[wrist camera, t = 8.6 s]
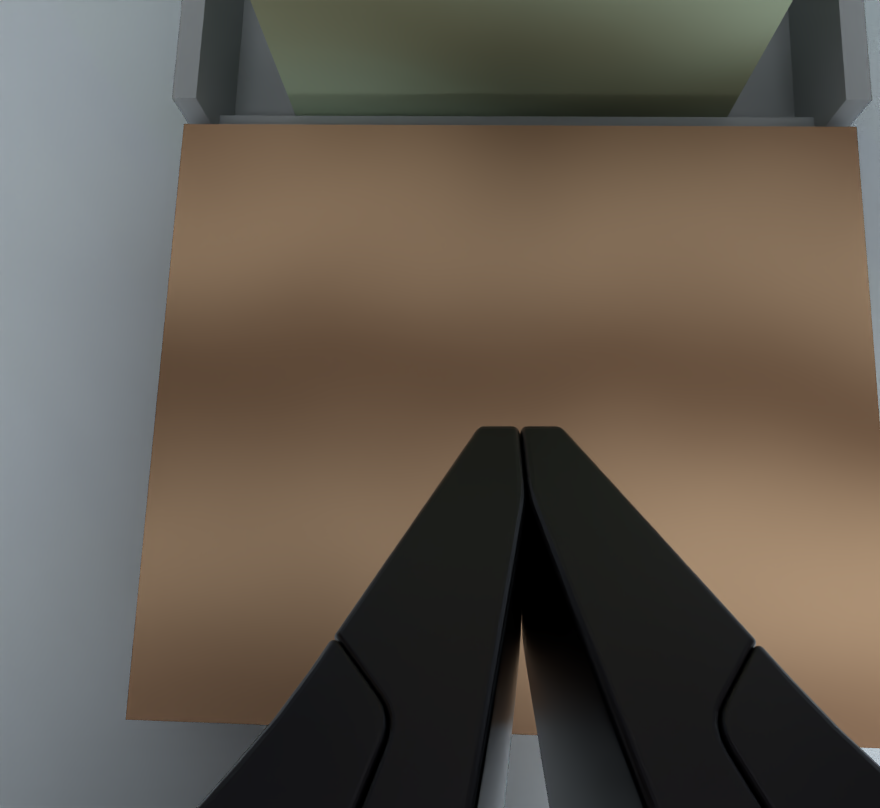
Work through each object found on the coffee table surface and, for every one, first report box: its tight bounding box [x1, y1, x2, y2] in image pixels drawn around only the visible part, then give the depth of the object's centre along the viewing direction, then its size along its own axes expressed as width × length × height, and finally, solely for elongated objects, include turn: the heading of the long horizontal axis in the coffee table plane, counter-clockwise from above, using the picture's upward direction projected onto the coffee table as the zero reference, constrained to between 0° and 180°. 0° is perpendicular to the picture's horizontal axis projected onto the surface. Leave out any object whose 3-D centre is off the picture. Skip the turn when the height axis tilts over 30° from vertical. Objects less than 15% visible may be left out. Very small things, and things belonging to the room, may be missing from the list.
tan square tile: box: [126, 124, 880, 748], centre depth 17 cm, size 12×14×2 cm
